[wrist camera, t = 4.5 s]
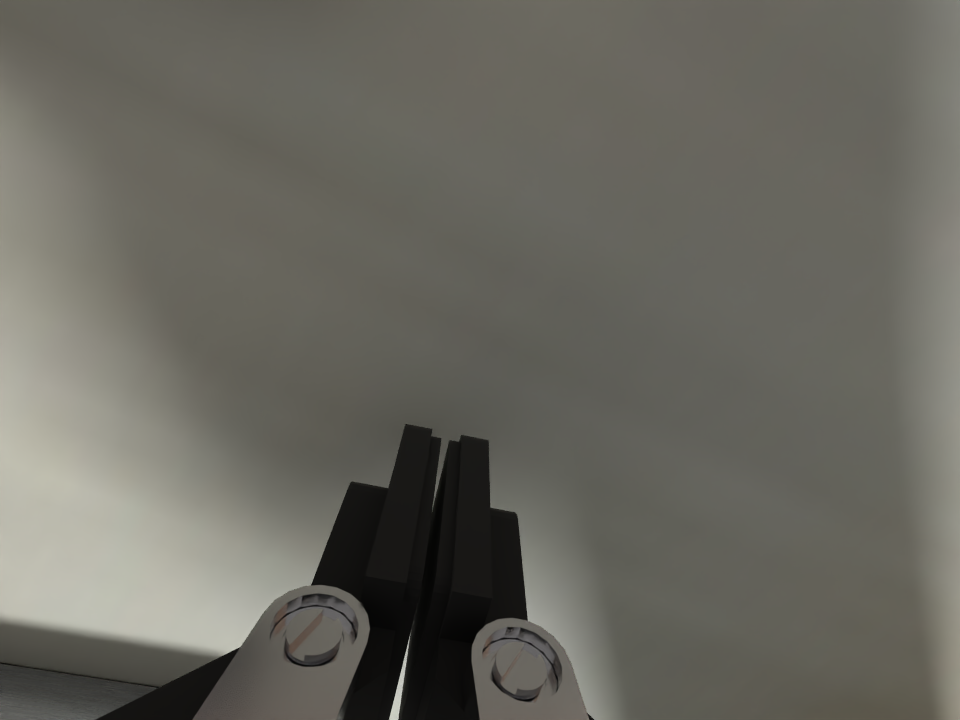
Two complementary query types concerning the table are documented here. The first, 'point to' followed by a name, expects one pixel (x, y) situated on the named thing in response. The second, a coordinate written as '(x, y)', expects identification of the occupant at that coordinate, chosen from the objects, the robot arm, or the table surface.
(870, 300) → the table surface
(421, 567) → the robot arm
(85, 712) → the guide track
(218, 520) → the table surface
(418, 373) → the table surface
